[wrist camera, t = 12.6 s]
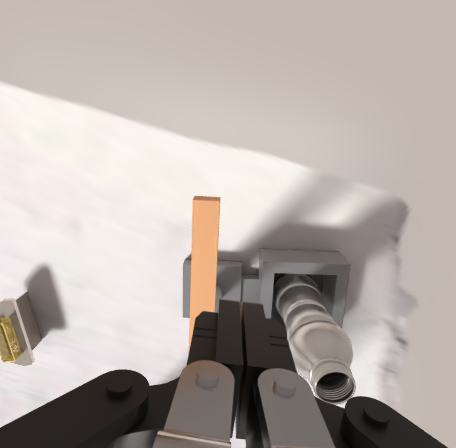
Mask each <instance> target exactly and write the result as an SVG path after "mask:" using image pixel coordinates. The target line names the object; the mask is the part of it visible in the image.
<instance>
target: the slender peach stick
mask: <svg viewBox="0 0 456 448" xmlns="http://www.w3.org/2000/svg"><path fill="white" fill-rule="evenodd" d="M219 214H220V197H204V196H195V197H194V199H193V215H192V253H191V291H190V329H189V350H190V345H191V340H192V334H193V329H194V323H195V318H196V317H197V316H198V315H199V314H200V313H201V312H202V311H208V312H215V300H216V278H217V257H218V236H219Z"/></svg>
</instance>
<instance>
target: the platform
mask: <svg viewBox="0 0 456 448" xmlns="http://www.w3.org/2000/svg"><path fill="white" fill-rule="evenodd" d="M7 324H8V325H7ZM9 324H10V325H9ZM6 325H7V326H6ZM10 326H11V327H12V328H11V327H10ZM6 328H7V329H8V328H9V329H8V330H7V329H6ZM5 329H6V330H5ZM10 331H11V332H10ZM7 332H8V333H7ZM13 337H14V338H13ZM15 340H16V341H15ZM41 340H42V339H41V335H40V332H39V329H38V326H37V322H36V319H35V316H34V313H33V310H32V306H31V303H30V300H29V297H28V293H27V292H26V293H25V294H23V295H22V296H21V297H19V298H18V299H17V300H15V299H4V300H3V301H1V302H0V351H1V352H0V357H1V359H2V362H3V361H4V360H5V361H4V362H12V363H15V364H19V365H23V366H25V365H31V364H32V363H33V362H34V360H35V359H34V356H33V353H32V350H33V349H34V348H35V347H36V346H37V345H38V343H39V342H40V341H41ZM12 341H13V342H12ZM14 341H15V342H14ZM11 342H12V343H11ZM16 342H17V343H16ZM10 343H11V344H10ZM15 343H16V344H17V345H16V344H15ZM14 344H15V345H16V346H15V345H14ZM13 345H14V346H13ZM12 346H13V347H12ZM17 346H18V347H17ZM16 347H17V348H16ZM15 348H16V349H15ZM14 349H15V350H14ZM13 350H14V351H13ZM18 350H19V351H18ZM17 351H18V352H17ZM1 355H2V356H1ZM2 357H3V358H4V359H3V358H2ZM4 362H3V363H4Z"/></svg>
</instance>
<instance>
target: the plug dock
mask: <svg viewBox="0 0 456 448" xmlns="http://www.w3.org/2000/svg"><path fill="white" fill-rule="evenodd" d="M349 272H350V264H349V262H348V261H347V260H346V259H345V258H344V257H343V256H342V255H341V254H340V253H339V252H338V251H311V250H283V249H260V256H259V272H258V275H242V262H241V261H217V278H216V300H215V312H217V311H218V304H219V299H226V300H235V301H240V305H241V303H242V301H244V302H253V303H261V304H263V308H264V313H265V318H269V319H277V321H278V322H279V323H280V324H281V325H282V326H283V327H284V328H285V331H286V327H285V323H284V321H283V319H282V317H271V311H272V298H273V285H274V273H289V274H317V275H325V278H324V287H323V296H322V297H323V303H324V305H325V308H326V310H327V312H328V313H329V314H330V316H331V317H332V319H333V320H334V321H335V322H336V323H337V324H338V325H339V326H340V327H341V329H342V323H343V316H344V309H345V301H346V294H347V287H348V279H349ZM190 291H191V260H189V259H185V261H184V263H183V317H184V318H190ZM286 335H287V331H286Z"/></svg>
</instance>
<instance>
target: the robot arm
mask: <svg viewBox="0 0 456 448" xmlns="http://www.w3.org/2000/svg"><path fill="white" fill-rule="evenodd" d="M235 417H236V438H237V439H246V448H447V447H446V446H445V445H443V444H442V443H440V442H439V441H438V440H436V439H435V438H433V437H432V436H431V435H429V434H428V433H426V432H425V431H423V430H422V429H421V428H419V427H418V426H416V425H415V424H413V423H412V422H411V421H409V420H408V419H406V418H405V417H403V416H402V415H401V414H399V413H398V412H396V411H395V410H394V409H392V408H391V407H389V406H388V405H386V404H384V403H383V402H381V401H378V400H376V399H373V398H370V397H363V396H358V397H353V398H351V399H349V400H348V401H347V403H346V405H345V409H344V408H341V407H339V406H336V405H333V404H330V403H327V402H325V401H322V400H320V399H318V398H316V397H315V396H314V395H313V392H312V390H311V388H310V386H309V384H308V383H307V381H306V380H305V379H304V378H302V377H301V376H300V375H298V374H297V370H296V367H295V363H294V360H293V356H292V353H291V349H290V348H289V342H288V340H287V335H286V331H285V328H284V327H283V326H282V325H281V324H280V323H279V322H278V321H277V319H269V318H265V313H264V308H263V304H261V303H253V302H244V301H242V303H241V308H240V301H235V300H226V299H219V304H218V311H217V312H208V311H202V312H201V313H200V314H199V315H198V316H197V317H196V318H195V323H194V329H193V334H192V340H191V345H190V350H189V356H188V361H187V366H186V367H185V368H184V369H183V370H182V373H181V376H180V377H178V378H177V379H175V380H173V381H171V382H168V383H165V384H159V385H152V386H149V383H148V381H147V379H146V378H145V377H144V376H143V375H141V374H140V373H138V372H136V371H132V370H114V371H110V372H107V373H105V374H102V375H100V376H98V377H97V378H95V379H93V380H91V381H89V382H87V383H85V384H83V385H81V386H79V387H77V388H75V389H74V390H72V391H70V392H68V393H66V394H64V395H62V396H60V397H58V398H56V399H54V400H52V401H51V402H49V403H47V404H45V405H43V406H41V407H39V408H37V409H35V410H33V411H31V412H29V413H27V414H26V415H24V416H22V417H20V418H18V419H16V420H14V421H12V422H10V423H8V424H6V425H4V426H3V427H1V428H0V448H231V442H230V438H232V434H233V428H234V422H235Z"/></svg>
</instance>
